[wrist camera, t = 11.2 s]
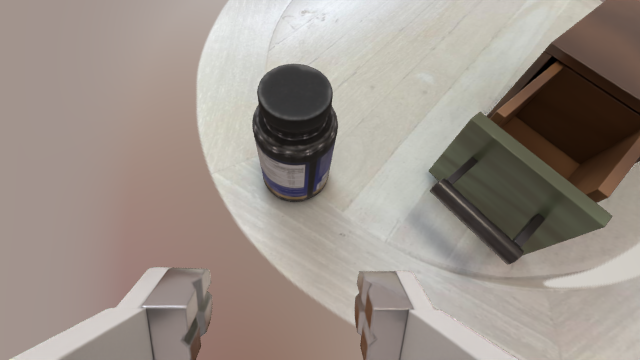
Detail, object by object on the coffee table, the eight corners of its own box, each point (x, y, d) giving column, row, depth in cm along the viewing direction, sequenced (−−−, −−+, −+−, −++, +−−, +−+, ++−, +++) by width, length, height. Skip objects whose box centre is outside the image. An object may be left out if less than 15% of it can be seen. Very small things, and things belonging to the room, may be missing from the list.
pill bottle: (308, 137, 30) (314, 44, 21) (340, 185, 28) (364, 106, 18) (251, 162, 29) (229, 73, 19) (281, 215, 26) (273, 145, 17)
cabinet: (580, 191, 30) (693, 134, 21) (485, 116, 34) (551, 42, 25) (634, 125, 35) (745, 57, 26) (547, 66, 38) (619, -11, 30)
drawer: (488, 294, 24) (568, 277, 17) (394, 199, 27) (429, 152, 20) (587, 176, 30) (676, 128, 23) (500, 110, 33) (556, 50, 26)
